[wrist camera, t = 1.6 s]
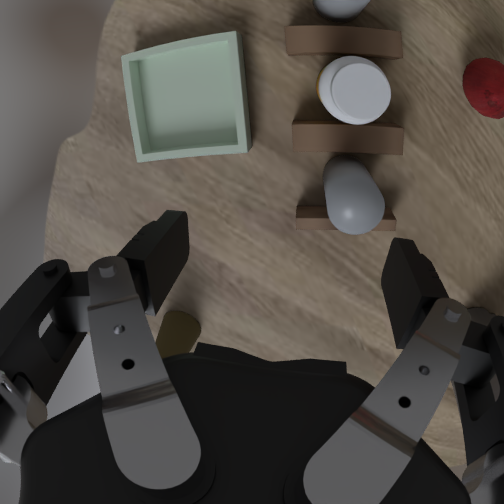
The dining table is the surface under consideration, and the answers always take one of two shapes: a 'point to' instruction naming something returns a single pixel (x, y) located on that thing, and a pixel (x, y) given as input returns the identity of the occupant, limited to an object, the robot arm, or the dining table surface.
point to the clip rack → (338, 132)
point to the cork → (177, 334)
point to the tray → (188, 98)
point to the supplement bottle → (353, 90)
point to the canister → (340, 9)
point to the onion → (485, 86)
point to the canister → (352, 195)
